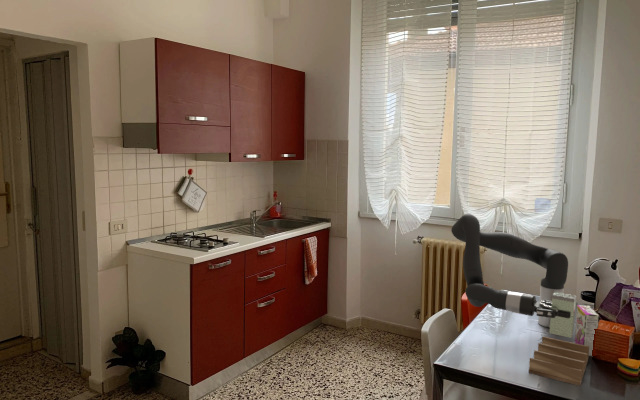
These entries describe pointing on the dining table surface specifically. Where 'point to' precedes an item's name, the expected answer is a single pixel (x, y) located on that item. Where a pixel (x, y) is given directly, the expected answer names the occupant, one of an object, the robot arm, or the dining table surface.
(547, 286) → the robot arm
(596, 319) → the candy bar box
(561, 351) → the plate rack
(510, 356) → the dining table surface
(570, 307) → the tea tin
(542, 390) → the dining table surface
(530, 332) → the dining table surface
